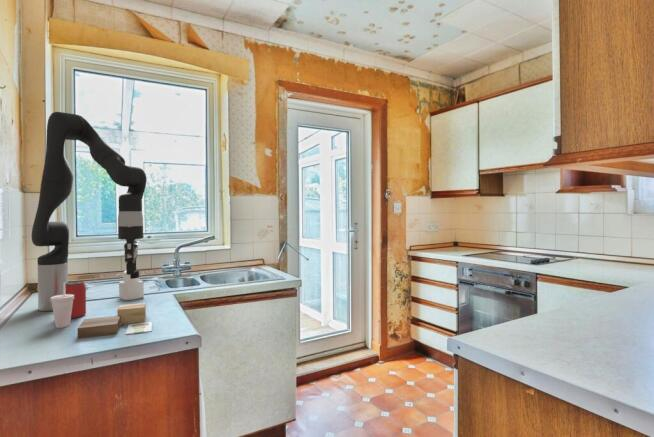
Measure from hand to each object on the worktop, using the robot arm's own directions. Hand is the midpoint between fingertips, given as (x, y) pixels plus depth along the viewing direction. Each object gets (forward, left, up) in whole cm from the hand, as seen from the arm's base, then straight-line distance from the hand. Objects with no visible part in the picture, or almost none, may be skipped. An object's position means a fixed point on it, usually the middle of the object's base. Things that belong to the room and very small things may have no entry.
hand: (131, 272), depth 124 cm
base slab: (+9, -8, -16) cm, 20 cm away
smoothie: (-2, -20, -17) cm, 26 cm away
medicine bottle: (-37, -3, -17) cm, 41 cm away
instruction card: (+11, +3, -16) cm, 20 cm away
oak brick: (0, 0, -17) cm, 17 cm away
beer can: (-14, -19, -17) cm, 29 cm away
